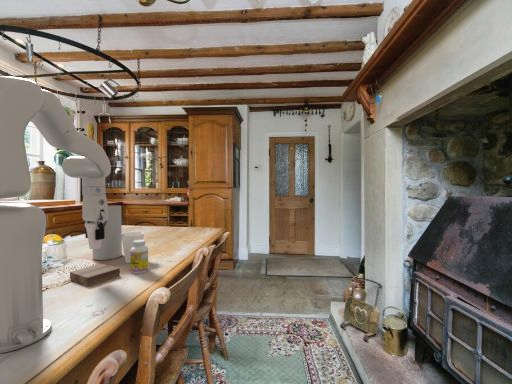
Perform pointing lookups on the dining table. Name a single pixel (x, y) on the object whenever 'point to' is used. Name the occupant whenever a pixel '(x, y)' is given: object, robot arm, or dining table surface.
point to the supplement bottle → (139, 257)
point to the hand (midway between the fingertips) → (94, 238)
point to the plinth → (94, 274)
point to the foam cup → (130, 242)
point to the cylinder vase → (111, 236)
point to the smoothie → (92, 236)
